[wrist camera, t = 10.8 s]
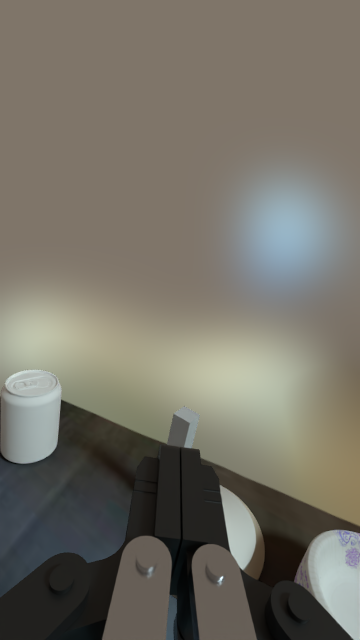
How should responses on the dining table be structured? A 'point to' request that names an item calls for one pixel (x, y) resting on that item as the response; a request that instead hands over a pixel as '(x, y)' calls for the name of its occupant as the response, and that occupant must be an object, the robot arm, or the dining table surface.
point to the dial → (234, 510)
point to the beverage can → (30, 416)
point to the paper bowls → (334, 576)
